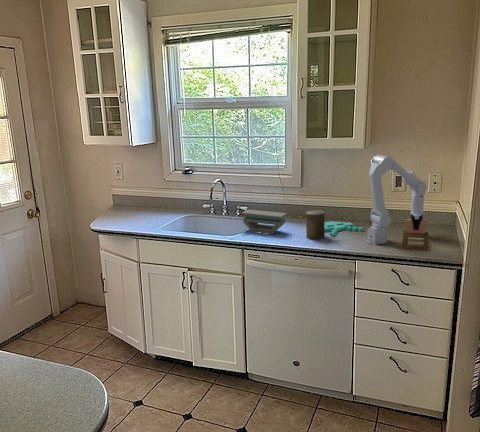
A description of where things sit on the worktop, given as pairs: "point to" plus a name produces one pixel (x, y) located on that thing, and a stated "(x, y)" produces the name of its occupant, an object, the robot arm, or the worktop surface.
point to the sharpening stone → (263, 220)
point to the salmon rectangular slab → (411, 229)
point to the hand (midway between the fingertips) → (415, 229)
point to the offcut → (415, 239)
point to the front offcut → (416, 243)
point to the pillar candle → (315, 224)
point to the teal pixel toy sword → (340, 227)
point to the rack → (415, 235)
